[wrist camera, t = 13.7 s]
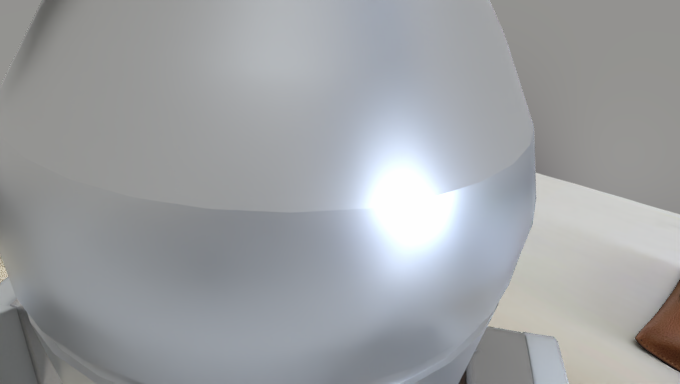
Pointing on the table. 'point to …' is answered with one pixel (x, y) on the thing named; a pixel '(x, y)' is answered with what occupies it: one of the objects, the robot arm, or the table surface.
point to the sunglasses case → (664, 332)
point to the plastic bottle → (263, 188)
